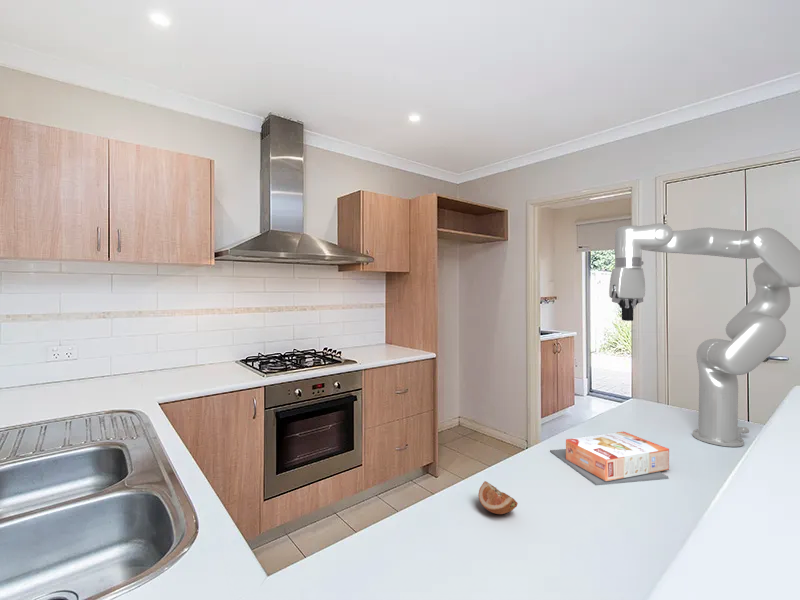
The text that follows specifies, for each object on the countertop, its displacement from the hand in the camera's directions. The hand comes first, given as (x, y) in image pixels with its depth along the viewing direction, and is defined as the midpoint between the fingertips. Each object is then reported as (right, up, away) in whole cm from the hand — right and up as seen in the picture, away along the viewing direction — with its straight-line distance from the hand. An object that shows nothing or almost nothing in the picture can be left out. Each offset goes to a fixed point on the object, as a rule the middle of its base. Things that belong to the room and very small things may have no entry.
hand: (627, 320), depth 128 cm
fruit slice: (-54, -38, -46) cm, 80 cm away
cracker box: (-7, -34, -21) cm, 41 cm away
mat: (-19, -38, -23) cm, 48 cm away
